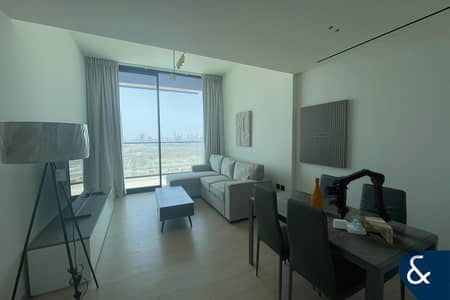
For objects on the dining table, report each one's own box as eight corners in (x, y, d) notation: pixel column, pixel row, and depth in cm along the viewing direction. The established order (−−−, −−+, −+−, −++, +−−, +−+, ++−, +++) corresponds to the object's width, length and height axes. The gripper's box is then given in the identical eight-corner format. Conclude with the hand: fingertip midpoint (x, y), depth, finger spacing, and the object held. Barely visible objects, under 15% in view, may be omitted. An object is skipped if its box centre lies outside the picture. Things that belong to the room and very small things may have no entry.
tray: (332, 223, 144) (332, 216, 144) (360, 226, 138) (360, 219, 138) (335, 230, 133) (335, 223, 132) (366, 234, 127) (366, 226, 126)
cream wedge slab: (364, 230, 132) (365, 216, 132) (380, 232, 129) (380, 218, 129) (374, 242, 117) (374, 226, 116) (392, 245, 114) (393, 228, 114)
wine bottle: (313, 208, 175) (313, 176, 173) (324, 211, 168) (325, 177, 166) (309, 211, 168) (309, 177, 166) (320, 214, 161) (321, 179, 159)
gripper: (325, 190, 147) (325, 210, 148) (330, 198, 129) (330, 220, 130) (342, 191, 143) (342, 212, 144) (349, 199, 126) (349, 222, 127)
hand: (340, 216), depth 137 cm, fingers open, 9 cm apart
